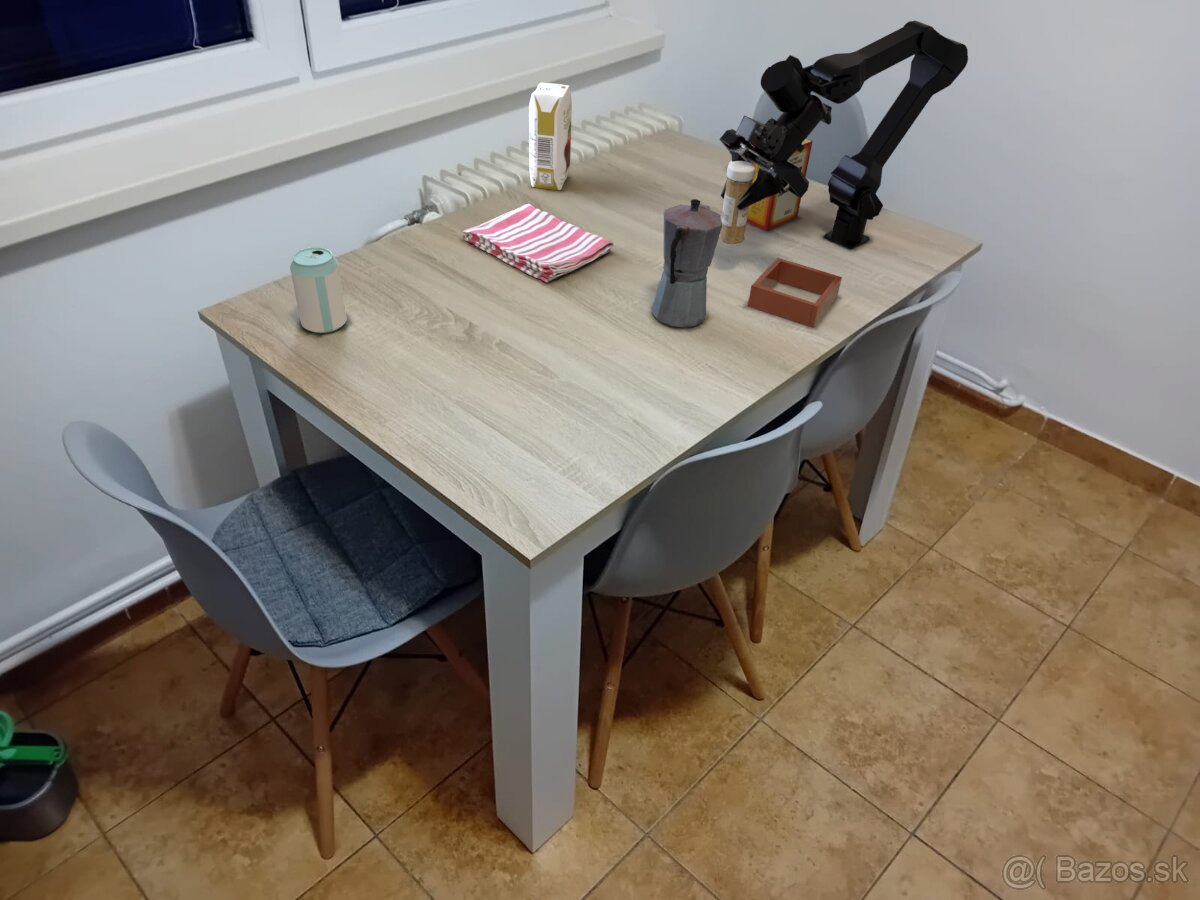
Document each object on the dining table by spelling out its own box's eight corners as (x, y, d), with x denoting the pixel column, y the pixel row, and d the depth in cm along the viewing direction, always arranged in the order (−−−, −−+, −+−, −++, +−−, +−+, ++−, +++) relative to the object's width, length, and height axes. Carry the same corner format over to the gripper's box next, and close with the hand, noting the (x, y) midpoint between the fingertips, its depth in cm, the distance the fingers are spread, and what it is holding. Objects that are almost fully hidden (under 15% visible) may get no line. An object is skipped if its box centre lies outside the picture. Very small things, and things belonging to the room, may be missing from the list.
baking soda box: (772, 206, 185) (786, 128, 174) (797, 217, 181) (813, 138, 171) (741, 218, 180) (753, 139, 169) (766, 231, 176) (780, 150, 166)
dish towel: (550, 286, 156) (550, 268, 154) (459, 239, 167) (458, 222, 165) (615, 253, 166) (616, 236, 164) (526, 211, 177) (525, 194, 175)
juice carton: (527, 188, 185) (526, 94, 173) (536, 172, 192) (536, 79, 180) (563, 193, 185) (565, 98, 172) (571, 176, 191) (574, 83, 179)
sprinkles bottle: (746, 245, 158) (758, 171, 149) (720, 245, 157) (730, 171, 149) (741, 233, 161) (752, 159, 152) (716, 233, 161) (725, 159, 152)
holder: (774, 277, 162) (778, 257, 159) (837, 297, 158) (842, 277, 155) (747, 306, 154) (751, 285, 152) (813, 327, 150) (818, 306, 147)
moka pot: (718, 300, 155) (734, 189, 142) (695, 346, 144) (711, 230, 131) (664, 288, 157) (676, 178, 144) (637, 333, 146) (648, 218, 133)
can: (298, 316, 145) (284, 248, 137) (342, 308, 147) (331, 241, 140) (305, 339, 140) (292, 270, 133) (351, 331, 143) (340, 262, 135)
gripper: (735, 80, 151) (674, 155, 154) (808, 118, 139) (740, 199, 142) (765, 119, 160) (707, 191, 162) (836, 159, 148) (772, 235, 150)
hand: (730, 202), depth 154 cm, fingers closed on sprinkles bottle, 4 cm apart
